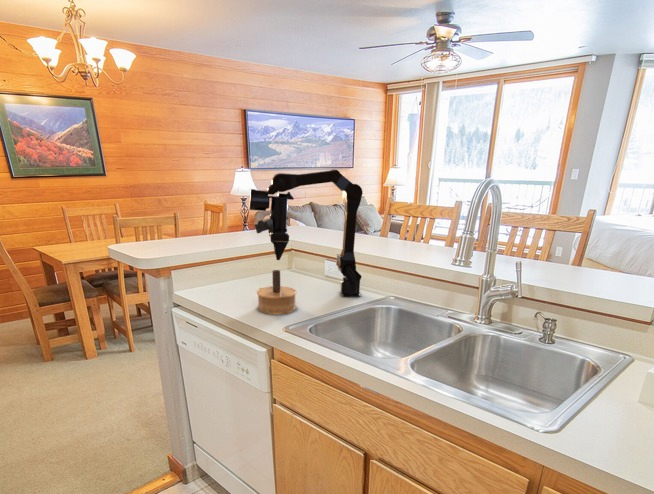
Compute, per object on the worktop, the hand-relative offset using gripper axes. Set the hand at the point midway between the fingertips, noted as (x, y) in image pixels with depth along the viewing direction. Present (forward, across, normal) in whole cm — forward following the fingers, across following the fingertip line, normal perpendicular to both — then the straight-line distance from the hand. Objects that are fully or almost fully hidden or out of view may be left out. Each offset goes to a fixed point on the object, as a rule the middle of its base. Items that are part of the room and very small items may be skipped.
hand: (277, 257), depth 158 cm
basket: (+14, +15, 0) cm, 21 cm away
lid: (+9, +15, -1) cm, 18 cm away
